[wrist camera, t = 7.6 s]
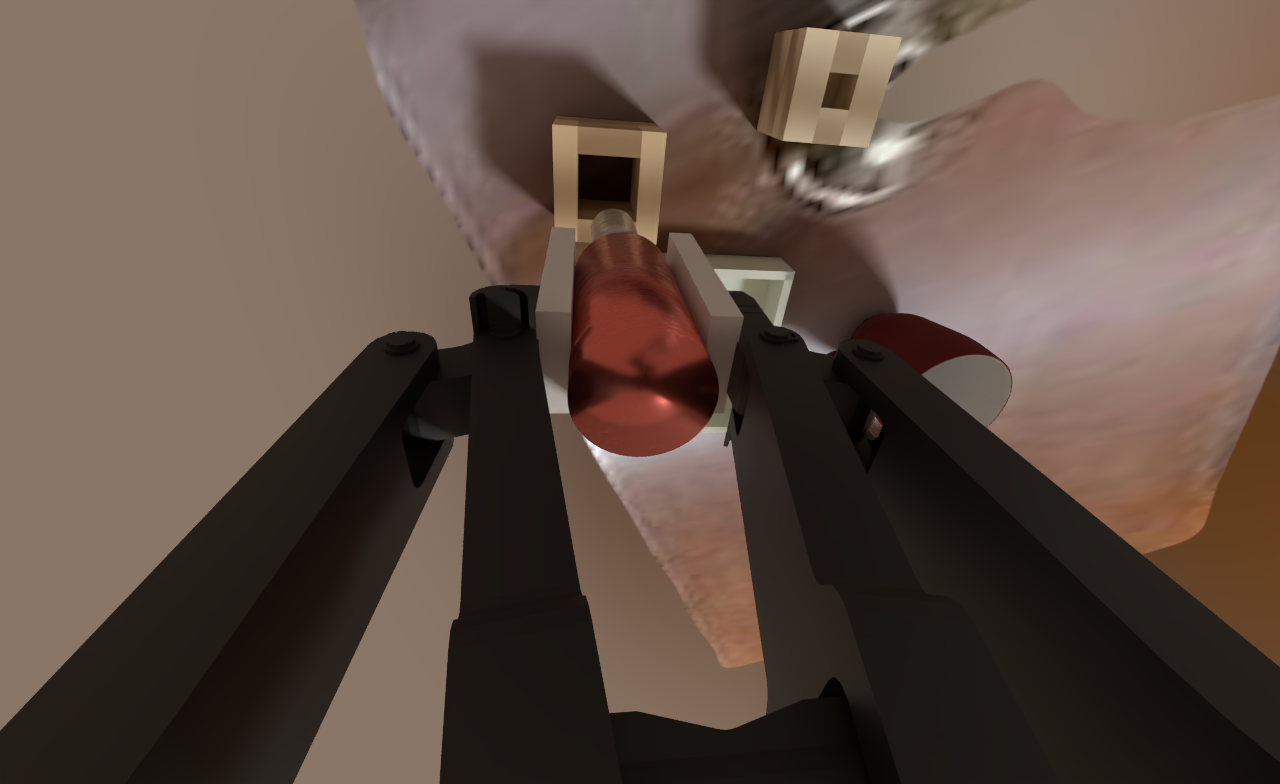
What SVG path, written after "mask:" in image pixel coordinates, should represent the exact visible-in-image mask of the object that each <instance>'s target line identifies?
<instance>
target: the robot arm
mask: <svg viewBox="0 0 1280 784" xmlns="http://www.w3.org/2000/svg"><path fill="white" fill-rule="evenodd" d="M666 260H667V262H668V265H669V267H670V269H671V271H672V274H673V276H674V278H675V280H676V283H677V285H678V287H679V289H680V291H681V294H682V296H683V298H684V300H685V303H686V305H687V307H688V309H689V311H690V314H691V316H692V318H693V320H694V323H695V325H696V327H697V329H698V332H699V334H700V336H701V338H702V340H703V343H704V345H705V347H706V349H707V352H708V354H709V356H710V358H711V360H712V363H713V365H714V367H715V370H716V373H717V376H718V382H719V396H718V402H717V405H716V408H715V411H714V413H713V414H724V409H725V405H726V400H727V395H728V396H729V399H730V401H731V403H732V409H731V414H730V418H729V423H728V427H727V432H726V436H725V441H724V446H727V447H728V444H729V441H730V440H731V441H732V448H733V455H734V462H735V468H736V475H737V482H738V489H739V495H740V502H741V509H742V516H743V522H744V529H745V536H746V543H747V549H748V556H749V563H750V570H751V576H752V583H753V590H754V597H755V603H756V610H757V617H758V624H759V630H760V637H761V644H762V651H763V657H764V664H765V671H766V677H767V687H768V701H767V712H766V715H765V716H763V717H760V718H758V719H756V720H753V721H751V722H749V723H746V724H744V725H741V726H739V727H737V728H734V729H730V730H720V729H715V728H710V727H706V726H701V725H697V724H692V723H688V722H683V721H678V720H674V719H669V718H664V717H660V716H656V715H651V714H646V713H642V712H638V711H634V712H620V713H609V710H608V706H607V700H606V694H605V689H604V683H603V678H602V673H601V667H600V662H599V656H598V651H597V646H596V640H595V635H594V630H593V624H592V619H591V614H590V609H589V605H588V602H587V599H586V596H583V595H582V593H581V590H580V584H579V580H578V574H577V568H576V563H575V556H574V550H573V545H572V539H571V533H570V527H569V522H568V516H567V510H566V505H565V500H564V493H563V487H562V482H561V476H560V470H559V464H558V459H557V453H556V447H555V441H554V436H553V430H552V424H551V418H550V413H570V412H569V408H568V399H567V393H568V374H569V359H570V353H571V342H572V321H573V300H574V279H575V228H563V227H552V230H551V235H550V240H549V245H548V250H547V255H546V260H545V265H544V270H543V275H542V280H541V285H540V286H534V285H497V286H489V287H485V288H481V289H478V290H476V291H475V292H473V293H472V294H471V295H470V297H469V301H470V309H471V316H472V323H473V331H474V339H473V342H472V343H469V344H466V345H463V346H458V347H453V348H446V349H439V350H438V349H437V343H436V341H435V339H434V338H433V337H432V336H430V335H428V334H425V333H420V332H406V331H399V332H397V333H395V332H393V333H389V334H387V335H385V336H383V337H380V338H377V339H376V340H374V341H373V342H371V343H370V344H369V345H368V346H367V347H366V348H365V349H364V350H363V351H362V352H361V353H360V354H359V355H358V356H357V357H356V358H355V359H354V360H353V362H352V363H351V364H350V365H349V366H348V367H347V368H346V369H345V370H344V371H343V372H342V373H341V374H340V375H339V376H338V377H337V378H336V379H335V380H334V382H332V384H331V385H330V386H329V387H328V388H327V389H326V390H325V391H324V392H323V393H322V394H321V395H320V396H319V397H318V398H317V399H316V400H315V401H314V402H313V403H312V405H311V406H310V407H309V408H308V409H307V410H306V411H305V412H304V413H303V414H302V415H301V416H300V417H299V418H298V419H297V420H296V422H294V423H293V425H292V426H291V427H290V428H289V429H288V430H287V431H286V432H285V433H284V434H283V435H282V436H281V437H280V438H279V439H278V440H277V441H276V442H275V443H274V445H272V446H271V447H270V449H269V450H268V451H267V452H266V453H265V454H264V455H263V456H262V457H261V458H260V459H259V460H258V461H257V462H256V463H255V464H254V465H253V466H252V468H250V470H249V471H248V472H247V473H246V474H245V475H244V476H243V477H242V478H241V479H240V480H239V481H238V482H237V483H236V484H235V485H234V486H233V487H232V488H231V490H229V492H228V493H227V494H226V495H225V496H224V497H223V498H222V499H221V500H220V501H219V502H218V503H217V504H216V505H215V506H214V507H213V508H212V509H211V511H209V512H208V514H207V515H206V516H205V517H204V518H203V519H202V520H201V521H200V522H199V523H198V524H197V525H196V526H195V527H194V528H193V529H192V530H191V531H190V532H189V533H188V534H187V536H186V537H185V538H184V539H183V540H182V541H181V542H180V543H179V544H178V545H177V546H176V547H175V548H174V549H173V550H172V551H171V552H170V553H169V554H168V556H167V557H166V558H165V559H164V560H163V561H162V562H161V563H160V564H159V565H158V566H157V567H156V568H155V569H154V570H153V571H152V572H151V574H149V575H148V577H147V578H146V579H145V580H144V581H143V582H142V583H141V584H140V585H139V586H138V587H137V588H136V589H135V590H134V591H133V592H132V594H130V595H129V597H128V598H126V600H125V601H124V602H123V603H122V604H121V605H120V606H119V607H118V608H117V609H116V610H115V611H114V612H113V613H112V614H111V615H110V616H109V617H108V618H107V620H106V621H105V622H104V623H103V624H102V625H101V626H100V627H99V628H98V629H97V630H96V631H95V632H94V633H93V634H92V635H91V636H90V637H89V638H88V639H87V640H86V641H85V642H84V644H83V645H82V646H81V647H80V648H79V649H78V650H77V651H76V652H75V653H74V654H73V655H72V656H71V657H70V658H69V659H68V660H67V661H66V662H65V663H64V665H63V666H62V667H61V668H60V669H59V670H58V671H57V672H56V673H55V674H54V675H53V676H52V677H51V678H50V679H49V680H48V681H47V682H46V683H45V684H44V686H43V687H42V688H41V689H40V690H39V691H38V692H37V693H36V694H35V695H34V696H33V697H32V698H31V699H30V700H29V701H28V702H27V703H26V704H25V705H24V706H23V708H22V709H21V710H20V711H19V712H18V713H17V714H16V715H15V716H14V717H13V718H12V719H11V720H10V721H9V722H8V723H7V724H6V726H4V727H3V729H2V730H1V731H0V784H293V782H294V780H295V778H296V776H297V774H298V772H299V770H300V767H301V765H302V763H303V761H304V759H305V757H306V755H307V753H308V751H309V748H310V746H311V744H312V742H313V740H314V738H315V736H316V734H317V732H318V730H319V727H320V725H321V723H322V721H323V719H324V717H325V715H326V713H327V710H328V708H329V706H330V704H331V702H332V700H333V698H334V696H335V694H336V692H337V689H338V687H339V685H340V683H341V681H342V679H343V677H344V675H345V673H346V670H347V668H348V666H349V664H350V662H351V659H352V658H353V656H354V654H355V651H356V649H357V647H358V645H359V642H360V641H361V639H362V637H363V635H364V632H365V630H366V628H367V626H368V624H369V622H370V620H371V618H372V616H373V613H374V611H375V609H376V607H377V605H378V603H379V601H380V599H381V597H382V594H383V592H384V590H385V588H386V586H387V584H388V581H389V580H390V578H391V575H392V573H393V571H394V569H395V567H396V565H397V563H398V561H399V559H400V556H401V554H402V552H403V550H404V548H405V546H406V544H407V541H408V539H409V537H410V535H411V533H412V531H413V529H414V527H415V525H416V523H417V521H418V518H419V516H420V514H421V512H422V510H423V508H424V506H425V503H426V502H427V499H428V497H429V495H430V493H431V491H432V489H433V487H434V485H435V483H436V480H437V478H438V476H439V474H440V472H441V470H442V468H443V466H444V464H445V461H446V459H447V457H448V455H449V453H450V451H451V449H452V447H453V442H454V437H458V436H462V435H467V434H469V439H468V460H467V480H466V500H465V520H464V541H463V562H462V581H461V602H460V613H459V617H458V619H456V620H454V621H453V623H452V627H451V630H450V640H449V648H448V663H447V679H446V693H445V708H444V709H445V710H444V725H443V739H442V754H441V770H440V784H1280V667H1279V666H1278V665H1277V664H1275V663H1274V662H1273V661H1272V660H1270V659H1269V658H1268V657H1267V656H1265V655H1264V654H1263V653H1262V652H1261V651H1259V650H1258V649H1257V648H1256V647H1254V646H1253V645H1252V644H1251V643H1249V642H1248V641H1247V640H1246V639H1245V638H1243V637H1242V636H1241V635H1240V634H1238V633H1237V632H1236V631H1235V630H1234V629H1232V628H1231V627H1230V626H1229V625H1227V624H1226V623H1225V622H1224V621H1223V620H1221V619H1220V618H1219V617H1218V616H1216V615H1215V614H1214V613H1213V612H1211V611H1210V610H1209V609H1208V608H1207V607H1205V606H1204V605H1203V604H1202V603H1201V602H1199V601H1198V600H1197V599H1196V598H1194V597H1193V596H1192V595H1191V594H1189V593H1188V592H1187V591H1186V590H1184V589H1183V588H1182V587H1181V586H1180V585H1178V584H1177V583H1176V582H1175V581H1174V580H1172V579H1171V578H1170V577H1169V576H1167V575H1166V574H1165V573H1164V572H1163V571H1161V570H1160V569H1159V568H1158V567H1156V566H1155V565H1154V564H1153V563H1151V562H1150V561H1149V560H1148V559H1147V558H1145V557H1144V556H1143V555H1142V554H1140V553H1139V552H1138V551H1137V550H1136V549H1134V548H1133V547H1132V546H1131V545H1129V544H1128V543H1127V542H1126V541H1125V540H1123V539H1122V538H1121V537H1120V536H1118V535H1117V534H1116V533H1115V532H1113V531H1112V530H1111V529H1110V528H1109V527H1107V526H1106V525H1105V524H1104V523H1102V522H1101V521H1100V520H1099V519H1098V518H1096V517H1095V516H1094V515H1093V514H1091V513H1090V512H1089V511H1088V510H1087V509H1085V508H1084V507H1083V506H1082V505H1080V504H1079V503H1078V502H1077V501H1075V500H1074V499H1073V498H1072V497H1071V496H1069V495H1068V494H1067V493H1066V492H1064V491H1063V490H1062V489H1061V488H1060V487H1058V486H1057V485H1056V484H1055V483H1053V482H1052V481H1051V480H1050V479H1049V478H1047V477H1046V476H1045V475H1044V474H1042V473H1041V472H1040V471H1039V470H1037V469H1036V468H1035V467H1034V466H1033V465H1031V464H1030V463H1029V462H1028V461H1026V460H1025V459H1024V458H1023V457H1022V456H1020V455H1019V454H1018V453H1017V452H1015V451H1014V450H1013V449H1012V448H1011V447H1009V446H1008V445H1007V444H1006V443H1004V442H1003V441H1002V440H1001V439H999V438H998V437H997V436H996V435H995V434H993V433H992V432H991V431H990V430H988V429H987V428H986V427H985V426H984V425H982V424H981V423H980V422H979V421H977V420H976V419H975V418H974V417H973V416H971V415H970V414H969V413H968V412H966V411H965V410H964V409H963V408H961V407H960V406H959V405H958V404H957V403H955V402H954V401H953V400H952V399H950V398H949V397H948V396H947V395H946V394H944V393H943V392H942V391H941V390H939V389H938V388H937V387H936V386H935V385H933V384H932V383H931V382H930V381H928V380H927V379H926V378H925V377H923V376H922V375H921V374H920V373H919V372H917V371H916V370H915V369H914V368H912V367H911V366H910V365H909V364H908V363H906V362H905V361H904V360H903V359H901V358H900V357H899V356H898V355H897V354H895V353H894V352H893V351H891V350H889V349H888V348H886V347H884V346H882V345H879V344H878V343H877V342H874V341H869V340H865V339H861V340H855V339H852V340H845V341H843V342H841V343H840V344H839V347H838V350H837V353H836V355H835V356H832V355H827V354H821V353H815V352H811V351H809V350H808V348H807V346H806V344H805V342H804V340H803V339H802V337H801V336H800V335H799V334H797V333H796V332H794V331H792V330H789V329H786V328H783V327H780V326H774V325H773V324H772V322H771V321H770V320H769V318H768V317H767V315H766V314H764V311H763V310H762V308H760V306H759V304H758V303H757V302H756V300H755V299H754V298H753V297H751V296H750V295H748V294H746V293H745V292H743V291H727V289H726V288H725V286H724V285H723V283H722V281H721V280H720V278H719V277H718V275H717V274H716V272H715V270H714V269H713V267H712V266H711V264H710V262H709V261H708V259H707V258H706V256H705V255H704V253H703V251H702V250H701V248H700V247H699V245H698V244H697V242H696V240H695V239H694V237H693V236H692V234H689V233H669V240H668V249H667V259H666ZM876 414H877V415H878V416H879V418H880V419H881V421H882V423H883V427H882V429H881V431H880V434H879V436H878V437H877V438H875V437H874V436H873V435H872V434H871V433H870V432H869V430H870V428H871V425H872V423H873V421H874V418H875V416H876Z"/></svg>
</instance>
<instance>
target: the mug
mask: <svg viewBox="0 0 1280 784" xmlns="http://www.w3.org/2000/svg"><path fill="white" fill-rule="evenodd" d="M852 339H855V340H861V339H865V340H869V341H874V342H877V343H878V344H879V345H882V346H884V347H886V348H888V349H889V350H891V351H893V352H894V353H895V354H897V355H898V356H899V357H900V358H901V359H903V360H904V361H905V362H906V363H908V364H909V365H910V366H911V367H912V368H914V369H915V370H916V371H917V372H919V373H920V374H921V375H922V376H923V377H925V378H926V379H927V380H928V381H930V382H931V383H932V384H933V385H935V386H936V387H937V388H938V389H939V390H941V391H942V392H943V393H944V394H946V395H947V396H948V397H949V398H950V399H952V400H953V401H954V402H955V403H957V404H958V405H959V406H960V407H961V408H963V409H964V410H965V411H966V412H968V413H969V414H970V415H971V416H973V417H974V418H975V419H976V420H977V421H979V422H980V423H981V424H982V425H984V426H985V427H987V426H989V425H990V424H991V423H992V422H993V421H994V420H995V419H996V417H997V416H998V415H999V414H1000V412H1001V411H1002V410H1003V408H1004V407H1005V405H1006V403H1007V401H1008V399H1009V396H1010V393H1011V389H1012V376H1011V372H1010V370H1009V368H1008V366H1007V365H1006V364H1005V363H1004V362H1003V361H1002V360H1001V359H999V358H998V357H997V356H996V355H994V354H993V353H992V352H990V351H989V350H988V349H986V348H985V347H984V346H982V345H981V344H979V343H978V342H976V341H975V340H973V339H971V338H969V337H967V336H965V335H963V334H961V333H959V332H956V331H954V330H951V329H949V328H947V327H944V326H942V325H940V324H937V323H935V322H932V321H930V320H928V319H925V318H923V317H920V316H917V315H913V314H905V313H892V314H880V315H876V316H873V317H871V318H869V319H867V320H865V321H864V322H863V323H862V324H861V325H860V326H859V327H858V328H857V329H856V331H855V333H854V335H853V338H852ZM836 353H837V350H836V351H832V352H830V353H828V354H827V355H832V356H835V355H836ZM875 417H876V418H877V420H878V421H879V422H880V424H881V425H882V426H883V423H882V421H881V419H880V418H879V416H878V415H877V414H876V416H875Z"/></svg>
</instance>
